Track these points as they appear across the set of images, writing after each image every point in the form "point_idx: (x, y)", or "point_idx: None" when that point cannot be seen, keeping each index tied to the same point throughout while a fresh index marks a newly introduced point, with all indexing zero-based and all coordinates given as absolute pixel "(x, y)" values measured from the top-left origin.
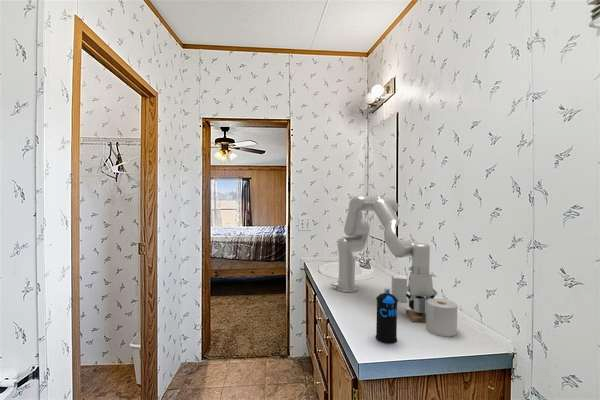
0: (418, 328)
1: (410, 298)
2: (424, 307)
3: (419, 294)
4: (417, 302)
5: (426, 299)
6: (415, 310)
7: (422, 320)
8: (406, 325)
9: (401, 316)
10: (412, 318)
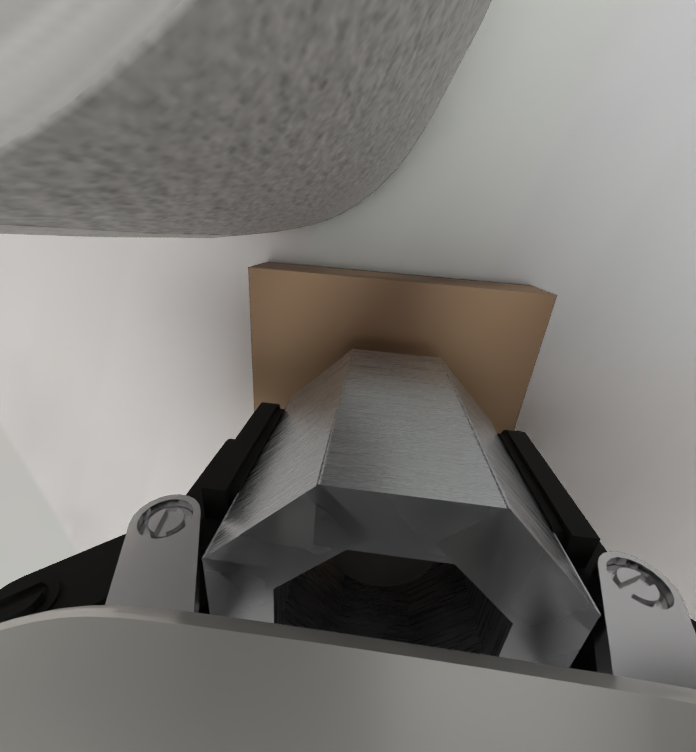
0: (560, 71)
1: (679, 611)
2: (352, 383)
3: (554, 745)
4: (502, 472)
5: (259, 517)
6: (475, 404)
7: (408, 277)
8: (670, 181)
9: (555, 437)
10: (544, 294)
